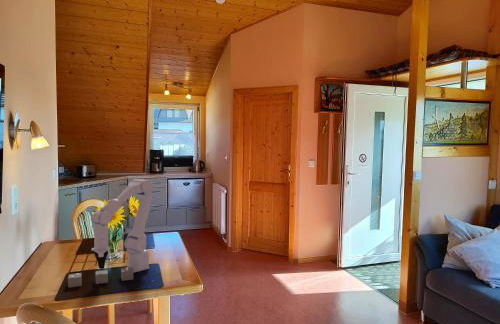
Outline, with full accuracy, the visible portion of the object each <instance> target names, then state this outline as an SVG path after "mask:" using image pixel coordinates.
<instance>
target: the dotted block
mask: <svg viewBox="0 0 500 324" xmlns="http://www.w3.org/2000/svg"><path fill="white" fill-rule="evenodd" d="M82 280H83V279H82V272H78V273H71V274H70V273H69V274H68V277H67V288H69V289H70V288H76V287H81V286H82V283H83V281H82Z"/></svg>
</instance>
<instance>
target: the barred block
mask: <svg viewBox="0 0 500 324" xmlns="http://www.w3.org/2000/svg"><path fill="white" fill-rule="evenodd" d="M120 274H121V275H120V278H121V281H122V282H123V281H131V280H134V273H133V267H129V268H126V267H122V268H120Z"/></svg>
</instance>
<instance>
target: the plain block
mask: <svg viewBox="0 0 500 324" xmlns="http://www.w3.org/2000/svg"><path fill="white" fill-rule="evenodd" d="M108 271H109V270H108V269H104V270H103V269H102V270H96V271H95V285H99V284H100V283H101V284H107V283H109V272H108Z"/></svg>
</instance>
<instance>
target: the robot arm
mask: <svg viewBox="0 0 500 324" xmlns="http://www.w3.org/2000/svg"><path fill="white" fill-rule="evenodd" d="M153 189H154V184H153V183H152V181H151V180H149V179H140V178H133V179H132V180H131V181H129V182H128V185H127V186H126V187H125V188H124V189H123V191H122V192H120V194H118V196H117V197H116V198H111V199H109V200H108V201H107V203H106V204H105V205H103V207H100V208H99V210H96V211H94V212H93V214H92V216H91V218H90V219H91V222H92V223H93V238H94V239H93V243H94V246H93V247H92V248H91V252H92V251H93V252H94V257H95V259H96V261H97V266H98V269H99V270H103V269H104V270H105V266H106V262H107V258H108V255H109V249H110V248H109V224H110V222H111V220H112V217H113V216H115V214H116V213H117V212H118V211H119V210H120V209H121V208H122V204H123V203H124V202H126V201H127V200H128V199H129V198H131V197H132V195H134V194H135V195H137V197H138V198H139V202H138V206H137V211H136V215H135V218H134V224H133V225H132V230H131V231H129V233H127V237H126V239H125V240H124V244H123V245H124V248H125V249H126V252H127V267H125V268H129V267H133V274H134V273H136V272H141V271H145V270H149V269H150V265H149V262H150V256H149V252H148V250H147V249H146V247H147V238H148V237H147V235H146V234H145V230H146V229H145V228H146V225H147V221H148V217H149V213H150V208H151V203H152V199H153Z"/></svg>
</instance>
